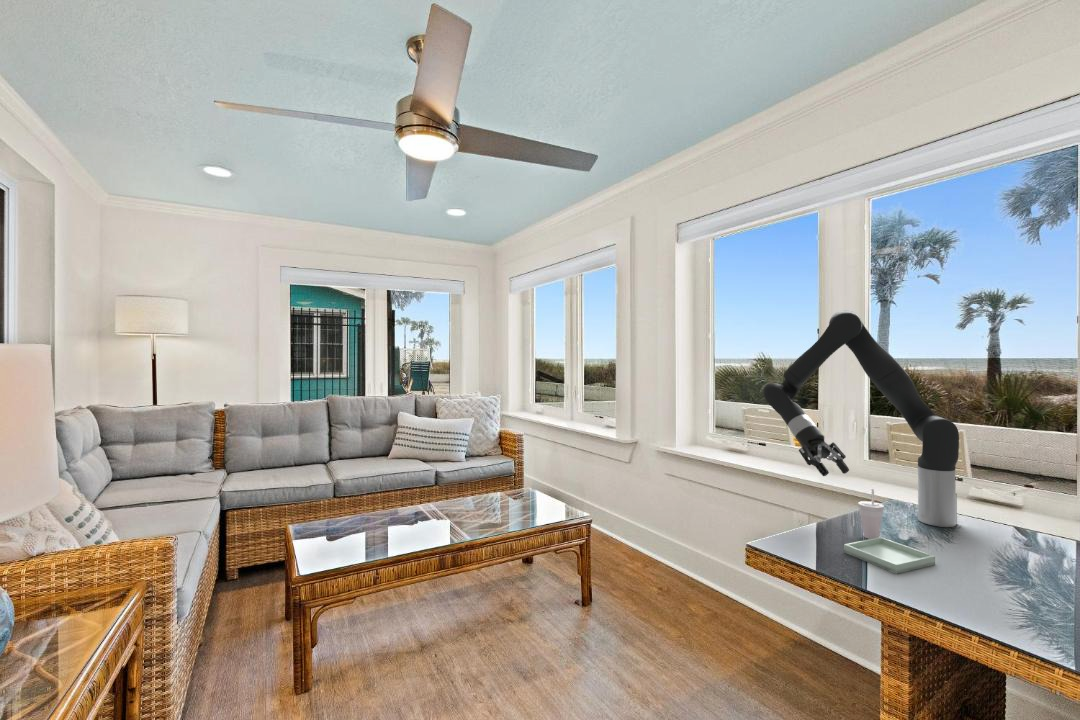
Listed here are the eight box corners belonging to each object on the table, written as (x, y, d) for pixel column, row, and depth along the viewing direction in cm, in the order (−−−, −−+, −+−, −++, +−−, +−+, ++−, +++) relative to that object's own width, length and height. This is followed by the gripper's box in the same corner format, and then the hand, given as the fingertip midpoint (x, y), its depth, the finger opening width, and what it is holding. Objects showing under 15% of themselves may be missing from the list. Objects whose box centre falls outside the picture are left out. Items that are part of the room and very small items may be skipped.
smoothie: (889, 541, 140) (889, 492, 140) (867, 541, 141) (866, 492, 140) (875, 533, 147) (874, 486, 147) (853, 533, 147) (852, 486, 147)
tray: (880, 544, 138) (880, 536, 138) (935, 564, 125) (935, 556, 125) (844, 552, 133) (843, 544, 133) (896, 573, 120) (896, 564, 120)
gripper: (795, 426, 160) (827, 469, 149) (828, 423, 164) (861, 464, 154) (782, 439, 165) (812, 482, 154) (814, 436, 169) (845, 477, 159)
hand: (836, 473), depth 154 cm, fingers open, 8 cm apart
